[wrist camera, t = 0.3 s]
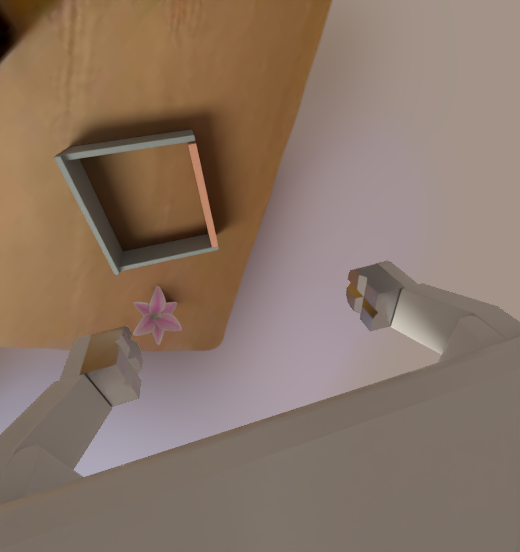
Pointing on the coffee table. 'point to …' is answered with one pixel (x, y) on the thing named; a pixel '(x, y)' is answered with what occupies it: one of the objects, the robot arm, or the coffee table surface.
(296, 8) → the coffee table surface
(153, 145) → the frame
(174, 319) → the lily
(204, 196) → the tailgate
